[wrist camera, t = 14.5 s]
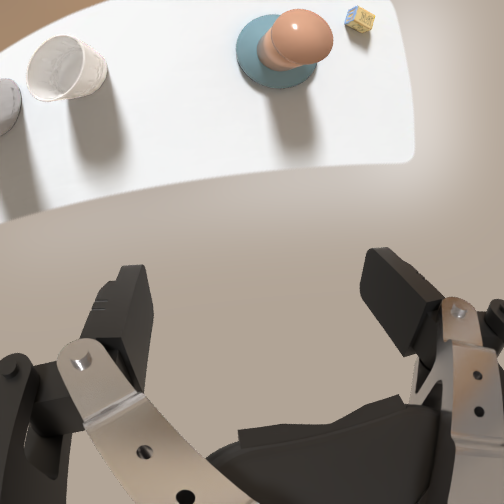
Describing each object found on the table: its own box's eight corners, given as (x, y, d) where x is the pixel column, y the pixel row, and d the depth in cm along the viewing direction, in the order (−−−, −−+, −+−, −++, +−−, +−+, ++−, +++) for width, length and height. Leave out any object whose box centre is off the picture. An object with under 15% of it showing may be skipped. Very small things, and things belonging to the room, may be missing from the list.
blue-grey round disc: (235, 87, 35) (236, 87, 34) (235, 14, 30) (236, 12, 29) (314, 91, 36) (317, 90, 35) (314, 21, 31) (317, 19, 30)
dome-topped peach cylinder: (255, 72, 33) (272, 61, 24) (254, 28, 30) (272, 6, 21) (302, 74, 34) (333, 67, 25) (302, 32, 31) (332, 14, 22)
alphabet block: (348, 9, 31) (357, 4, 28) (366, 19, 31) (376, 15, 29) (343, 24, 32) (352, 20, 29) (361, 33, 33) (371, 30, 30)
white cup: (123, 69, 31) (98, 59, 22) (83, 111, 32) (50, 115, 24) (89, 37, 27) (60, 21, 19) (52, 79, 29) (15, 76, 20)
